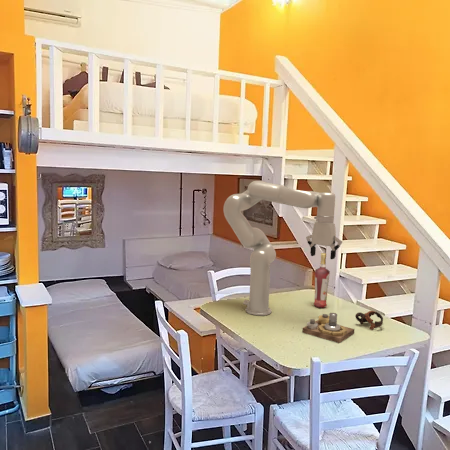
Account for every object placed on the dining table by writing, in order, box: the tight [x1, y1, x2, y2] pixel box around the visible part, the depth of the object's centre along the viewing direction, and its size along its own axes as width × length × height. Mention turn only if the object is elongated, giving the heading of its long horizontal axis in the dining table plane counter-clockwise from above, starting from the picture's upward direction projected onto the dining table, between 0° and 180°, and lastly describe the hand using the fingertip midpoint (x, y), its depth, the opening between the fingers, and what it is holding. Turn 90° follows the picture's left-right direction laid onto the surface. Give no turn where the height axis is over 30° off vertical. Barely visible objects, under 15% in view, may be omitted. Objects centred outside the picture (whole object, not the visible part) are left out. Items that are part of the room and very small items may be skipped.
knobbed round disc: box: [325, 312, 340, 332], centre depth 185 cm, size 6×6×7 cm
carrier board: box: [301, 313, 355, 344], centre depth 188 cm, size 17×15×6 cm
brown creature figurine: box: [355, 310, 384, 331], centre depth 198 cm, size 12×10×8 cm
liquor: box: [313, 252, 331, 309], centre depth 224 cm, size 7×7×28 cm
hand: (322, 257), depth 199 cm, fingers open, 9 cm apart
